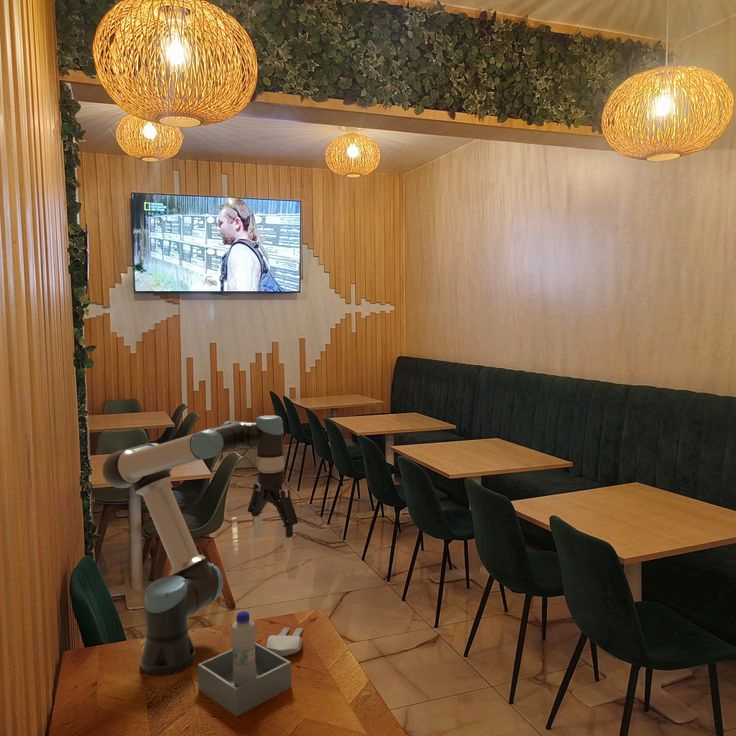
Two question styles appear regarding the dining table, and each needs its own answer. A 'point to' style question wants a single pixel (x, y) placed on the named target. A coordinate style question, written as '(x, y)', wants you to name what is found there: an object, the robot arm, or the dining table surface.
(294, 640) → the turret
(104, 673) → the dining table surface
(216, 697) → the tray
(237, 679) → the bottle
